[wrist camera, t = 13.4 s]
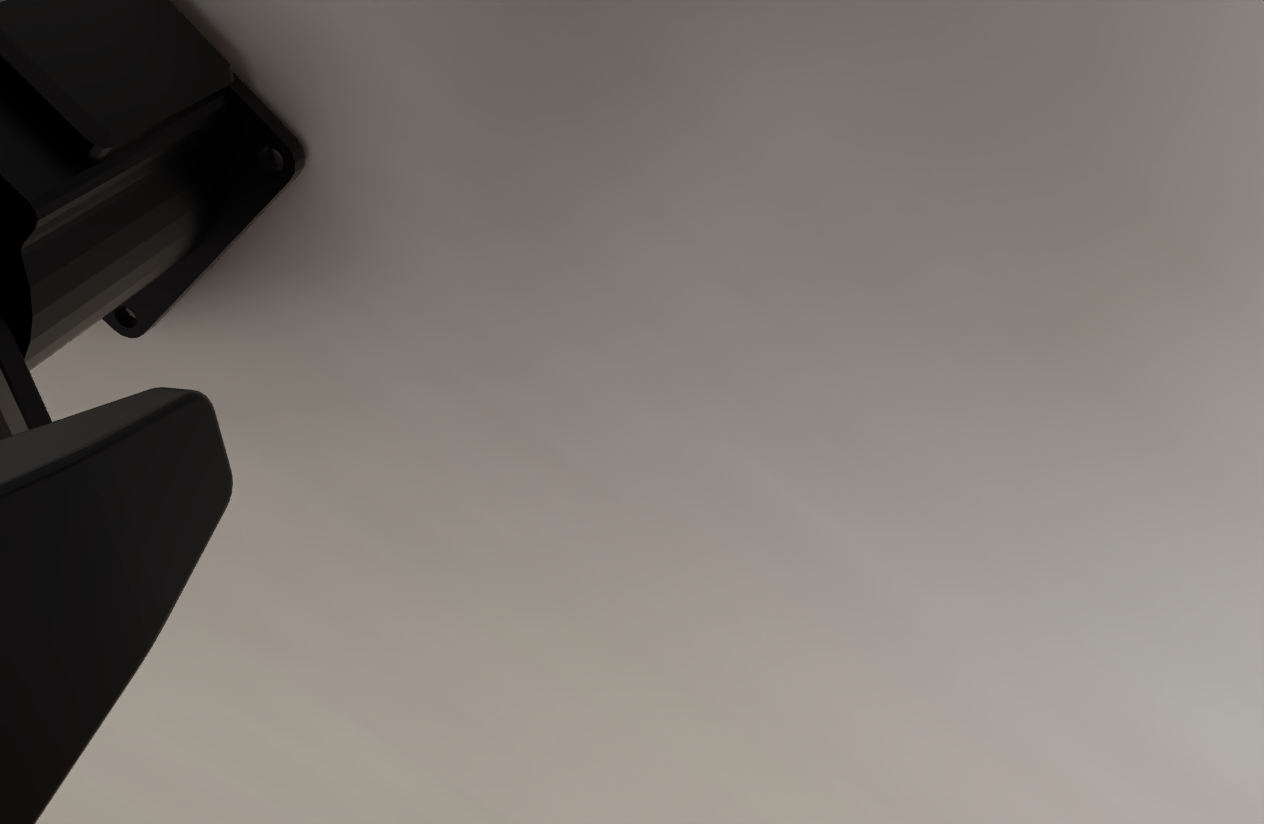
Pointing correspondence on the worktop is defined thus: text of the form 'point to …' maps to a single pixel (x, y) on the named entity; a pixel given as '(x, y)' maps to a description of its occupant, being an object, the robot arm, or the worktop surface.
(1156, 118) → the worktop surface
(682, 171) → the worktop surface
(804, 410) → the worktop surface
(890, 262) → the worktop surface
